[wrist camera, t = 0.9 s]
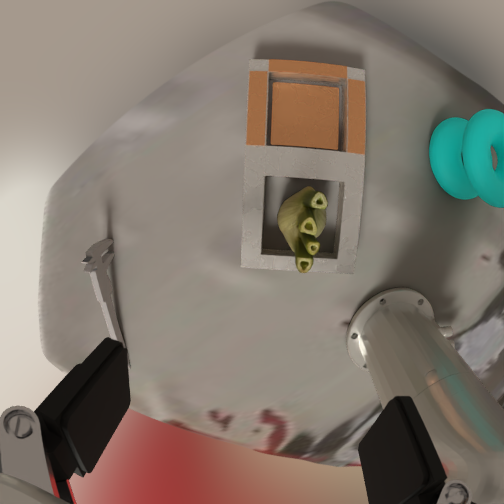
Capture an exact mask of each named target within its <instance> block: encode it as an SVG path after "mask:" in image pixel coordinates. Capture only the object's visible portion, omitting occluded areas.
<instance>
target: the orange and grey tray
mask: <svg viewBox="0 0 504 504" xmlns="http://www.w3.org/2000/svg"><path fill="white" fill-rule="evenodd" d="M269 79H270V80H291V81H304V82H315V83H324V84H332V85H340V86H342V140H341V152H340V151H330V150H320V149H309V148H296V147H281V146H267V130H268V104H269ZM338 132H339V88H335V87H327V86H318V85H308V84H296V83H279V82H273V95H272V123H271V145H286V146H300V147H313V148H323V149H333V150H338ZM365 144H366V88H365V70H363V69H357V68H352V67H347V66H341V65H334V64H326V63H317V62H307V61H294V60H276V59H269V60H266V59H249V76H248V97H247V119H246V142H245V166H244V192H243V220H242V250H241V267H245V268H260V269H276V270H292V271H298V269H297V268H296V264H295V252H293V251H292V250H278V249H262V241H263V221H264V200H265V177H266V176H279V177H295V178H308V179H321V180H332V181H340V182H339V197H338V210H337V221H336V232H335V241H334V250H333V253H326V252H317V253H316V254H315V255H313V259H314V262H313V265H312V267H311V269H310V270H309V272H327V273H345V274H354V268H355V261H356V253H357V246H358V238H359V229H360V220H361V209H362V198H363V184H364V168H365Z"/></svg>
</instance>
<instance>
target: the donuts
mask: <svg viewBox="0 0 504 504" xmlns="http://www.w3.org/2000/svg"><path fill="white" fill-rule="evenodd" d="M491 145H492V146H493V147H494V149H495V151H496V154H497V159H498V163H497V167H496V169H495V171H494V169H493V167H492V155H491V150H490V148H491ZM461 153H462V156H463V162H462V158H461ZM429 159H430V164H431V168H432V171H433V174H434V176H435V178H436V180H437V182H438V183H439V185H440V186H441V187H442V188H443V189H444V190H445V191H446V192H447V193H448V194H450V195H451V196H453V197H455V198H458V199H463V200H467V199H472V198H475V197H477V196H479V197H480V198H481V199H482V200H483V201H485V202H486V203H488V204H489V205H491V206H494V207H498V208H504V114H503V113H502V112H500V111H497V110H493V109H484V110H481V111H479V112H477V113H476V114H474V115H473V116H472V117H471V119H470V120H469V121H468V120H466V119H463V118H457V117H453V118H448V119H446V120H444V121H442V122H441V123H440V124H439V125H438V126H437V127H436V128H435V130H434V132H433V134H432V136H431V140H430V145H429ZM463 163H464V165H463Z"/></svg>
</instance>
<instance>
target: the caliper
mask: <svg viewBox="0 0 504 504" xmlns="http://www.w3.org/2000/svg"><path fill="white" fill-rule="evenodd" d="M112 243H113V240H112V239H104V240H101V241H99V242H97V243H95V244H93V245H92V246H91V247H90V248H89V249H88V250H87V251H86V258H85V259H84V260H83V261H82V263H87V264H86V266H85V269H84V272H89V273H90V276H91V280H92V283H93V287H94V291H95V294H96V297H97V301H98V302H100V304H101V307H102V311H103V314H104V317H105V321H106V324H107V327H108V330H109V333H110V336H111V339H114V340H117V341H120V342H122V343H123V346H124V348H126V347H125V344H124V340H123V337H122V334H121V331H120V328H119V324H118V321H117V318H116V314H115V310H114V307H113V303H112V299H111V295H110V294H111V293H112V292H113V289H112V287H111V281H110V279H109V277H108V275H107V272H106V270H107V269H108V267H109V265H110V263H111V261H112V259H113V257H114V252H109V251H108V252H107V253H105V254H104V255H103V256H102V257H101V254H102V253H103V252H104V251H105V250H106V249H107V248H108V247H109V246H110V245H111V244H112ZM127 355H128V352H127ZM128 368H129V369H131V367H130V364H129V357H128Z"/></svg>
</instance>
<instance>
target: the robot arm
mask: <svg viewBox="0 0 504 504" xmlns="http://www.w3.org/2000/svg"><path fill="white" fill-rule="evenodd" d="M381 299H382V300H381ZM353 333H354V334H353ZM452 334H453V328H452V327H451V326H446V327H440V326H439V325H438V324H437V323H436V322H435V321H434V312H433V309H432V306H431V304H430V303H429V301H428V300H427V299H426V298H425V297H424V296H423V295H422V294H421V293H419V292H417V291H415V290H413V289H409V288H394V289H389V290H386V291H383V292H381V293H379V294H377V295H375V296H374V297H372V298H371V299H369V300H368V301H367V302H366V303H364V304H363V305H362V307H361V308H360V309H359V310H358V311H357V312H356V314H355V315H354V317H353V318H352V320H351V323H350V325H349V327H348V331H347V336H346V345H347V350H348V353H349V356H350V358H351V359H352V361H353V362H354V363H355V364H356V365H357V366H358V367H359V368H361V369H362V370H364V371H367V372H369V373H370V376H371V378H372V381H373V383H374V386H375V388H376V391H377V394H378V396H379V399H380V402H381V404H382V407H383V411H382V413H381V414H380V415H379V417H378V418H377V420H376V421H375V423H374V424H373V426H372V427H371V428H370V430H369V431H368V433H367V434H366V435H365V437H364V438H363V439H362V441H361V442H360V444H359V447H358V452H359V456H360V461H361V466H362V471H363V475H364V481H365V486H366V491H367V496H368V501H369V504H504V409H503V408H502V407H501V406H500V405H499V403H498V402H497V401H496V400H495V398H494V397H493V396H492V395H491V393H490V392H489V391H488V390H487V388H486V387H485V386H484V385H483V383H482V382H481V381H480V379H479V378H478V377H477V376H476V374H475V373H474V372H473V371H472V369H471V368H470V367H469V366H468V364H467V363H466V362H465V361H464V359H463V358H462V357H461V356H460V355H459V353H458V352H457V351H456V350H455V349H454V347H455V345H454V342H453V340H447V339H446V338H445V337H450V336H452ZM130 401H131V400H130V387H129V374H128V355H127V349H126V348H124V346H123V343H122V342H120V341H117V340H114V339H111V338H109V337H107V338H105V339H104V340H103V341H102V342H101V343H100V344H99V345H98V346H97V347H96V349H95V350H94V351H93V352H92V353H91V354H90V355H89V356H88V357H87V358H86V359H85V360H84V361H83V362H82V364H77V365H76V366H75V367H74V368H73V369H72V370H71V371H70V372H69V373H68V374H67V375H66V376H65V378H64V379H63V380H62V381H61V382H60V383H59V384H58V385H57V386H56V387H55V389H54V390H53V391H52V392H51V393H50V394H49V395H48V397H46V399H45V400H44V401H43V402H42V403H41V404H40V405H39V407H38V408H37V409H36V410H35V411H34V412H33V411H32V410H30V409H29V408H26V407H24V406H13V407H10V408H8V409H6V410H5V411H4V412H3V413H2V415H1V417H0V504H77V503H76V500H75V497H74V494H73V492H72V489H71V485H70V482H69V479H70V478H71V476H72V475H73V473H76V474H77V475H79V476H81V477H84V475H85V474H86V472H87V473H91V472H92V470H93V469H94V467H95V465H96V463H97V462H98V460H99V458H100V456H101V454H102V453H103V451H104V449H105V447H106V446H107V444H108V442H109V441H110V439H111V437H112V435H113V434H114V432H115V430H116V428H117V427H118V425H119V423H120V422H121V420H122V418H123V416H124V415H125V413H126V411H127V409H128V408H129V405H130Z"/></svg>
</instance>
